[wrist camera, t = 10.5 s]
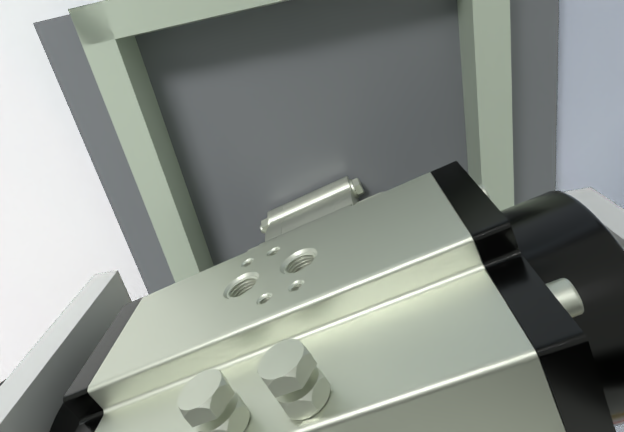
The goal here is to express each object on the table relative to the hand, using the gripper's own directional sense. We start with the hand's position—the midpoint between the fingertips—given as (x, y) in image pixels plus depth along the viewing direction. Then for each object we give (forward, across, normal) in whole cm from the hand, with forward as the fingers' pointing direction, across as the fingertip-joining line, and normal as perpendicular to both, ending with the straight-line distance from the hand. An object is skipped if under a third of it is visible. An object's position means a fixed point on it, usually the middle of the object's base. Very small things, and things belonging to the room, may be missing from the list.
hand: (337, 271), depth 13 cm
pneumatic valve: (+4, 0, 0) cm, 4 cm away
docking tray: (+5, 0, 0) cm, 5 cm away
